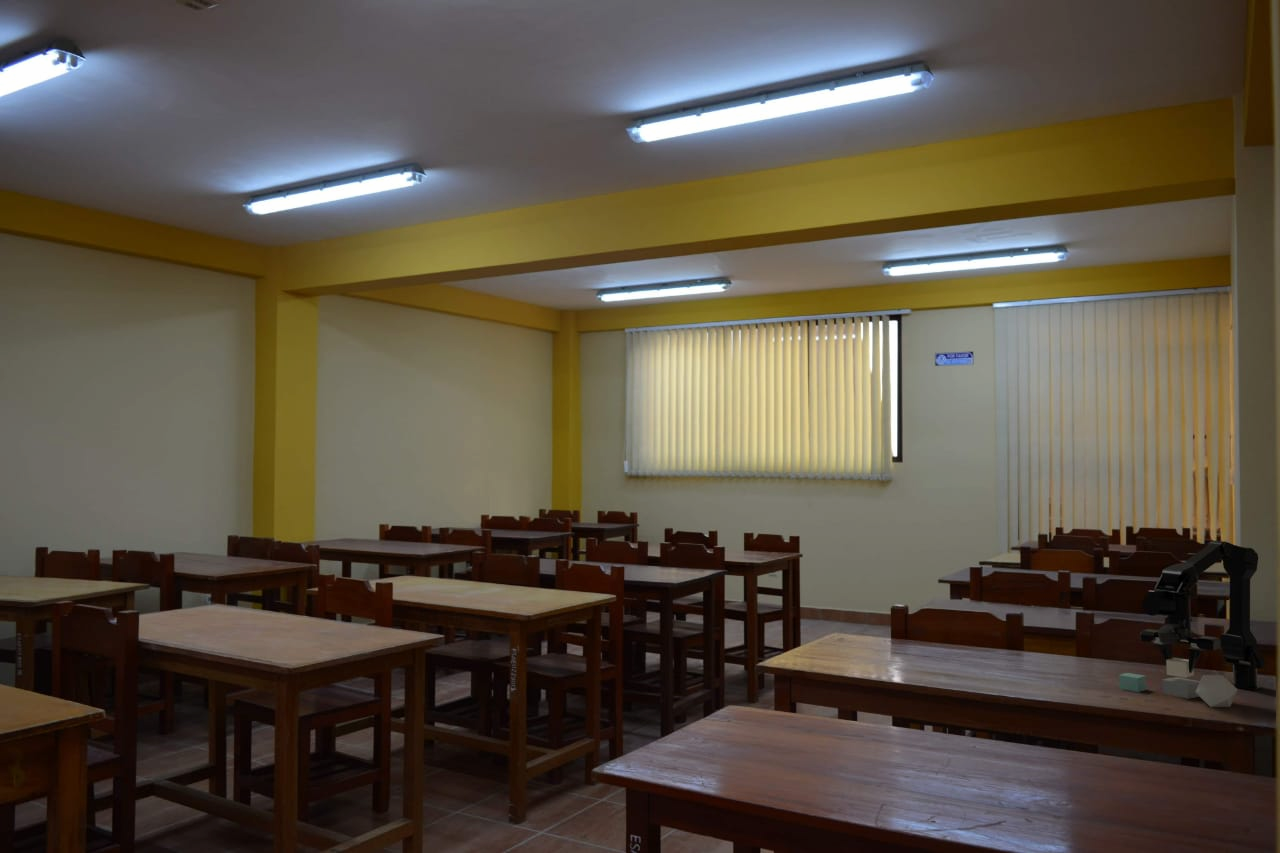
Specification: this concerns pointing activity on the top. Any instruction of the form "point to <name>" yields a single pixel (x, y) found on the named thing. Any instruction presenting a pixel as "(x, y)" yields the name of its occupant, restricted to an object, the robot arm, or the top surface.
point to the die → (1216, 691)
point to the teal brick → (1132, 682)
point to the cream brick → (1178, 667)
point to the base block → (1180, 687)
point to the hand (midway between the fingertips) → (1180, 671)
